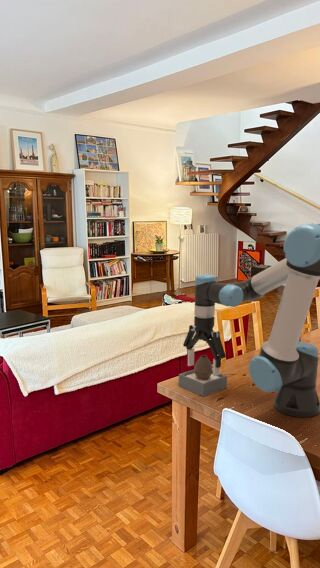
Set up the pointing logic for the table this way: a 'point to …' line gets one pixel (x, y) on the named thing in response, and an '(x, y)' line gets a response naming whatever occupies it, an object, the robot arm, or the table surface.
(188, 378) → the gray square tray
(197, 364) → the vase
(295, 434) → the table surface
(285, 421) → the table surface
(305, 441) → the table surface
